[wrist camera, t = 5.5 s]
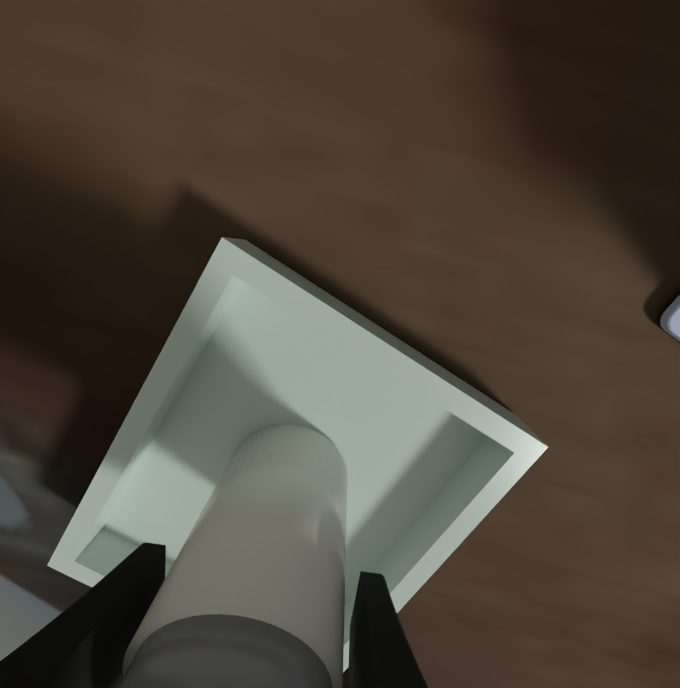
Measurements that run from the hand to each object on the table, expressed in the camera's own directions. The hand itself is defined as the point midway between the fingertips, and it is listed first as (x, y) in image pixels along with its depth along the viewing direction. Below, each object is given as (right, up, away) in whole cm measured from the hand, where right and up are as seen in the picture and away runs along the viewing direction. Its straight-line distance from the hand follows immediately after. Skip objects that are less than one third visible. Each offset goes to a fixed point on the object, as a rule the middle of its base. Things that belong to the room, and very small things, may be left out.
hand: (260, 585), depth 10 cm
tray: (0, +1, +5) cm, 6 cm away
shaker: (0, +1, +4) cm, 5 cm away
